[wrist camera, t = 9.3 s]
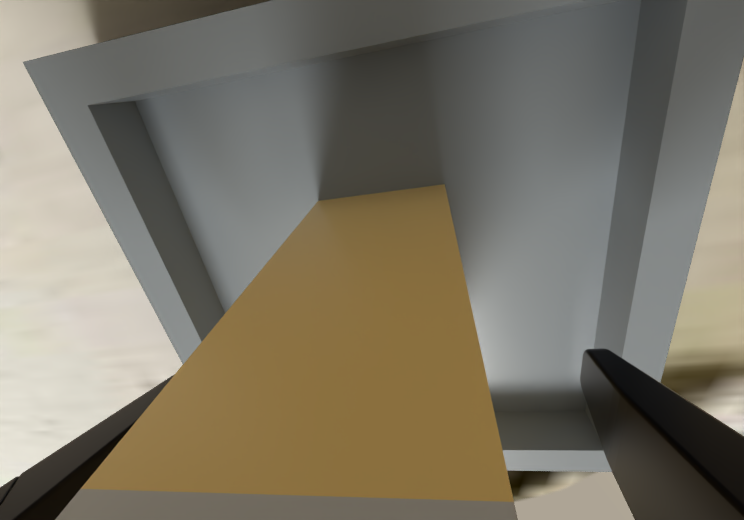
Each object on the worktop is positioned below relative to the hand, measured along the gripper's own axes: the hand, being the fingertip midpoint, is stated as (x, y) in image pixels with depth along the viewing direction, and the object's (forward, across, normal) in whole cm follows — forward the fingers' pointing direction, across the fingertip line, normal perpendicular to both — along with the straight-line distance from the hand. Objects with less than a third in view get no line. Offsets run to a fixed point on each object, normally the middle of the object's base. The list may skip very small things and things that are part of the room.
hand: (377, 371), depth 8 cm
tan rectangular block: (+4, 0, 0) cm, 4 cm away
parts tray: (+5, 0, 0) cm, 5 cm away
